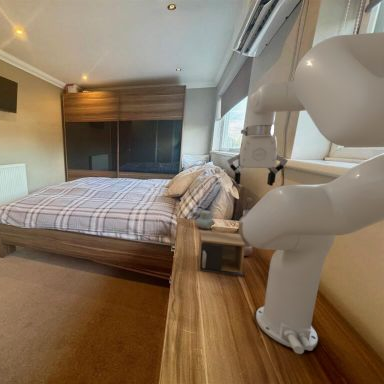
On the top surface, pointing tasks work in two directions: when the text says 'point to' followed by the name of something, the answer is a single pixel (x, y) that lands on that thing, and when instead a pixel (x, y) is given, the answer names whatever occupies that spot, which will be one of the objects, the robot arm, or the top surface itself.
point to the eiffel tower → (246, 209)
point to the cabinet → (225, 251)
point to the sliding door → (211, 256)
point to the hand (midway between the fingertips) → (253, 184)
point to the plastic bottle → (247, 246)
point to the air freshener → (204, 220)
